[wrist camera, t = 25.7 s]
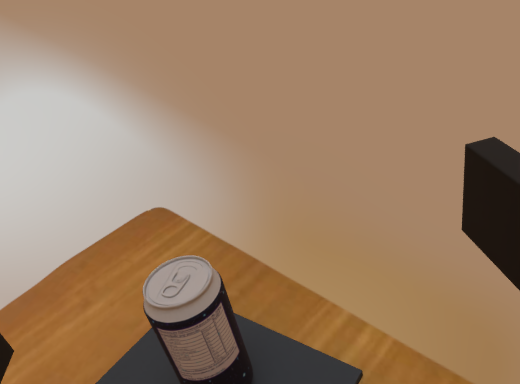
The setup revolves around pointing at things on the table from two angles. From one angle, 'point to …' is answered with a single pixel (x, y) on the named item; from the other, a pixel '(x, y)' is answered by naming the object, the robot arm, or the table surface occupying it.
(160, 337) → the beverage can
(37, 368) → the table surface
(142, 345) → the slate mat
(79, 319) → the table surface
